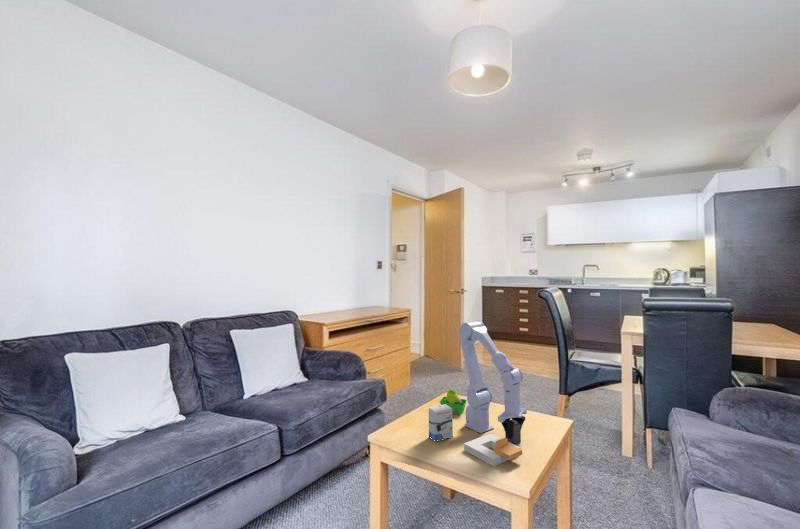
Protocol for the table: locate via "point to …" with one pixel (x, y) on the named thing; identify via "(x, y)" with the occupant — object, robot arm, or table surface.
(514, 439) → the plug
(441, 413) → the ink box
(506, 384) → the robot arm
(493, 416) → the table surface
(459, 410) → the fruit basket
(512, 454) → the tan slab
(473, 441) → the socket
